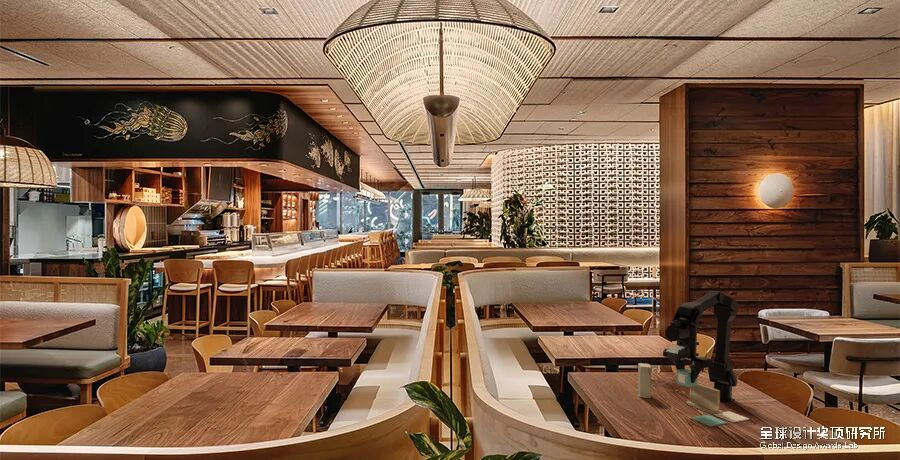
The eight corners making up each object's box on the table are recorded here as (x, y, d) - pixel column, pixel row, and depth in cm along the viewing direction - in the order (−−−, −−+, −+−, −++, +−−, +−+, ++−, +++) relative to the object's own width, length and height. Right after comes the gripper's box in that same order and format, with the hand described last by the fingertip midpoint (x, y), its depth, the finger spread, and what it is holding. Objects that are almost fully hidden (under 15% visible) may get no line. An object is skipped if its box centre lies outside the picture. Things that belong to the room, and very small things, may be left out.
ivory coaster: (729, 412, 203) (729, 411, 203) (749, 419, 195) (749, 418, 195) (713, 414, 199) (713, 413, 199) (733, 422, 192) (733, 421, 192)
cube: (686, 381, 206) (686, 368, 206) (697, 385, 202) (697, 372, 202) (675, 383, 204) (676, 369, 204) (686, 387, 200) (687, 373, 200)
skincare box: (651, 398, 216) (652, 367, 216) (639, 397, 217) (640, 366, 217) (648, 393, 222) (649, 363, 222) (637, 392, 223) (638, 362, 223)
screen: (693, 402, 212) (694, 380, 212) (722, 414, 200) (723, 390, 200) (685, 404, 211) (686, 381, 211) (714, 415, 199) (715, 391, 199)
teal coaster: (707, 415, 198) (707, 414, 198) (727, 423, 191) (727, 422, 191) (691, 418, 195) (691, 417, 195) (710, 426, 187) (710, 425, 187)
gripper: (652, 334, 208) (651, 376, 208) (692, 345, 191) (691, 390, 191) (674, 333, 213) (673, 373, 213) (715, 343, 195) (714, 387, 196)
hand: (686, 380), depth 203 cm, fingers closed on cube, 5 cm apart
